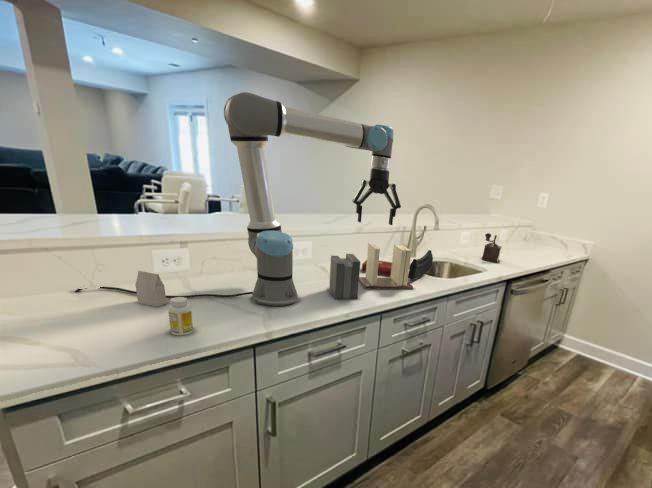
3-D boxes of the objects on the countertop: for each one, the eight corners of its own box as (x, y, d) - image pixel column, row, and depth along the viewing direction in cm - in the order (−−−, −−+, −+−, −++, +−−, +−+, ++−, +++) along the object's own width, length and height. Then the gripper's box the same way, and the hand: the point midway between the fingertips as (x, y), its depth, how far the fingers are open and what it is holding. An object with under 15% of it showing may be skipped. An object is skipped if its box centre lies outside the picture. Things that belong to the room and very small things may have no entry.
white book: (371, 285, 165) (375, 248, 159) (365, 277, 174) (368, 242, 168) (376, 285, 166) (379, 249, 159) (369, 277, 175) (372, 243, 169)
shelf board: (365, 288, 163) (365, 286, 163) (358, 279, 174) (358, 277, 174) (412, 289, 172) (413, 286, 171) (403, 280, 183) (403, 278, 182)
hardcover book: (403, 278, 186) (404, 269, 185) (361, 271, 187) (362, 263, 186) (406, 272, 197) (407, 264, 196) (366, 266, 198) (367, 258, 197)
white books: (397, 285, 170) (402, 250, 163) (390, 278, 179) (394, 244, 173) (406, 285, 171) (411, 250, 165) (398, 278, 180) (402, 244, 174)
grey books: (334, 299, 147) (337, 260, 141) (329, 288, 157) (331, 252, 151) (357, 298, 150) (360, 261, 144) (350, 289, 160) (353, 253, 154)
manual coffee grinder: (482, 256, 262) (488, 230, 254) (498, 260, 259) (504, 233, 252) (479, 260, 248) (485, 233, 241) (496, 264, 245) (502, 236, 238)
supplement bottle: (169, 336, 103) (165, 303, 99) (172, 328, 108) (168, 296, 104) (192, 335, 105) (189, 302, 102) (194, 327, 110) (191, 295, 106)
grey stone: (157, 306, 119) (152, 275, 115) (138, 302, 120) (133, 271, 116) (166, 303, 123) (162, 273, 119) (147, 299, 123) (143, 269, 120)
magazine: (414, 264, 176) (434, 238, 198) (407, 263, 177) (428, 237, 199) (413, 295, 187) (432, 267, 209) (407, 294, 188) (426, 266, 210)
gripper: (351, 165, 144) (347, 222, 152) (412, 173, 154) (405, 227, 162) (347, 164, 150) (343, 219, 158) (406, 172, 160) (399, 224, 168)
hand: (375, 223), depth 160 cm, fingers open, 13 cm apart
